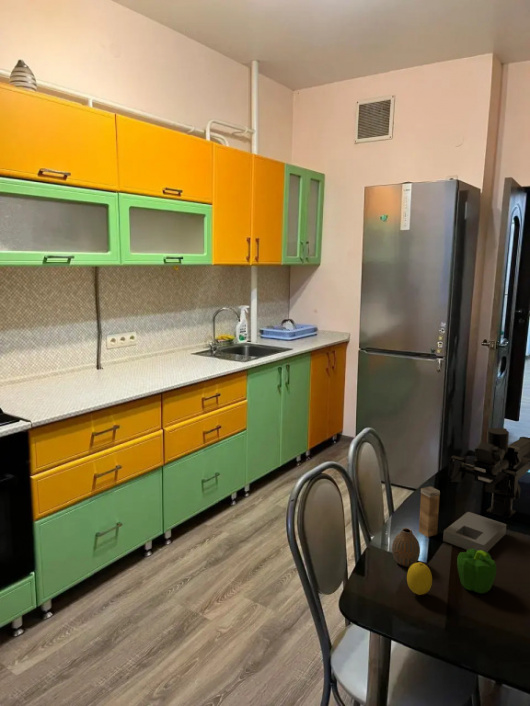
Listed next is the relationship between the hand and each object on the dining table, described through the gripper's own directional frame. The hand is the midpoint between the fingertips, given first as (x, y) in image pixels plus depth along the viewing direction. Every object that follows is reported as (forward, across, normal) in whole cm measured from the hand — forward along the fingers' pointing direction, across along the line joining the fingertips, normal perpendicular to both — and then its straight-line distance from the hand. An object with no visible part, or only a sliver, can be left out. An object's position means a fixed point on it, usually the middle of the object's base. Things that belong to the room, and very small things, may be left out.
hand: (468, 484), depth 140 cm
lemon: (+32, +3, +15) cm, 35 cm away
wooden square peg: (+4, -9, +16) cm, 19 cm away
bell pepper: (+19, +11, +16) cm, 27 cm away
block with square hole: (-3, +1, +17) cm, 17 cm away
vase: (+22, -6, +16) cm, 27 cm away
